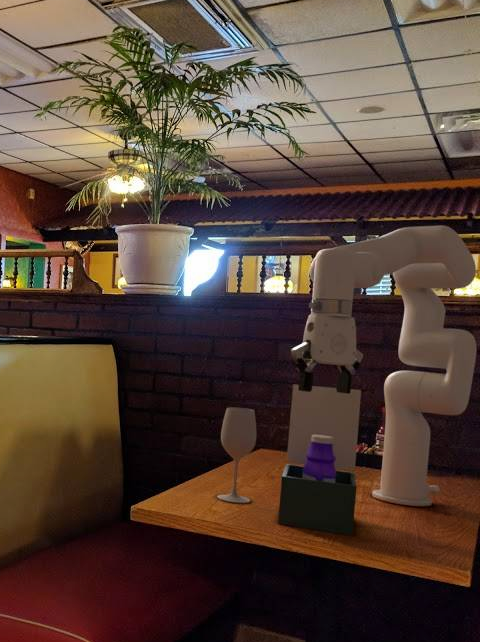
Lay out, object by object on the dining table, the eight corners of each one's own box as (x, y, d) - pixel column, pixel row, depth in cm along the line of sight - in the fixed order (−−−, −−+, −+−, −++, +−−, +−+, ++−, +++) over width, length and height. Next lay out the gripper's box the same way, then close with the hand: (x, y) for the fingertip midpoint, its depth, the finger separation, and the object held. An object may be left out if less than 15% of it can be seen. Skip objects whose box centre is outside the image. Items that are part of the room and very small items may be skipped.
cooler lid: (361, 390, 163) (360, 390, 164) (293, 384, 169) (293, 384, 170) (354, 470, 161) (354, 470, 162) (286, 461, 167) (286, 461, 168)
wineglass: (234, 504, 168) (241, 411, 167) (209, 496, 174) (216, 407, 173) (258, 502, 171) (265, 411, 170) (232, 494, 178) (239, 406, 177)
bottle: (337, 524, 152) (344, 439, 151) (309, 522, 152) (316, 437, 151) (321, 514, 159) (327, 433, 158) (294, 513, 159) (301, 432, 159)
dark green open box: (352, 535, 147) (356, 486, 147) (278, 523, 153) (281, 476, 153) (350, 517, 162) (354, 472, 162) (283, 507, 168) (286, 463, 168)
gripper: (309, 306, 148) (302, 392, 149) (379, 312, 153) (372, 395, 154) (283, 306, 155) (276, 388, 156) (351, 312, 160) (344, 391, 161)
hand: (324, 392), depth 155 cm, fingers open, 9 cm apart
